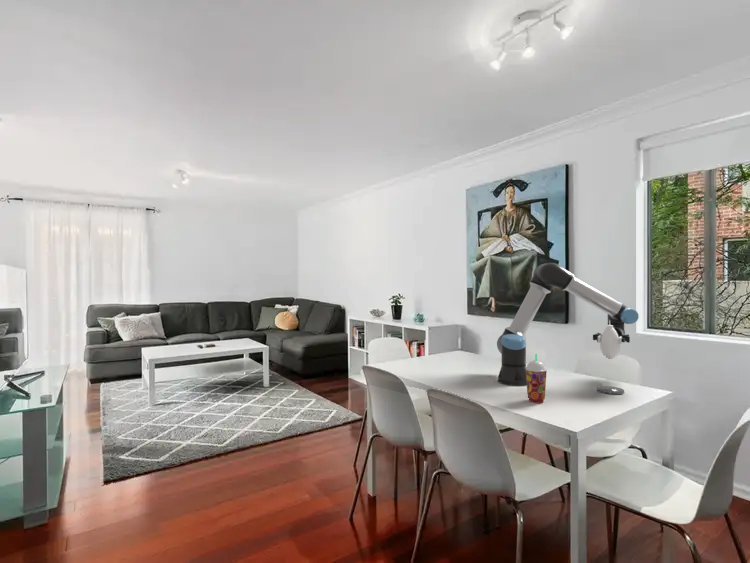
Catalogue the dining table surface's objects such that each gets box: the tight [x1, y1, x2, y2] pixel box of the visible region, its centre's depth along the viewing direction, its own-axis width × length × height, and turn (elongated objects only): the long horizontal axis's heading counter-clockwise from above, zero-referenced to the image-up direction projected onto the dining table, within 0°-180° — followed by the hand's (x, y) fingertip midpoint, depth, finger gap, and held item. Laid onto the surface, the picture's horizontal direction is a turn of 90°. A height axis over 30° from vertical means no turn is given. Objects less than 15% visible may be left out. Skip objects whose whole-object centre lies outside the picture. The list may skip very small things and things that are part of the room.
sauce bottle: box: [599, 320, 621, 360], centre depth 197 cm, size 8×8×18 cm
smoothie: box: [526, 353, 547, 404], centre depth 180 cm, size 8×8×20 cm
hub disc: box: [596, 385, 625, 396], centre depth 197 cm, size 11×11×1 cm
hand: (609, 340), depth 193 cm, fingers closed on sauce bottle, 8 cm apart
